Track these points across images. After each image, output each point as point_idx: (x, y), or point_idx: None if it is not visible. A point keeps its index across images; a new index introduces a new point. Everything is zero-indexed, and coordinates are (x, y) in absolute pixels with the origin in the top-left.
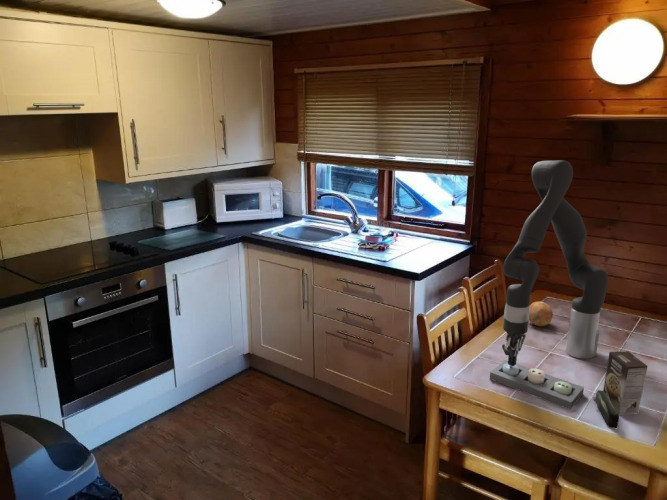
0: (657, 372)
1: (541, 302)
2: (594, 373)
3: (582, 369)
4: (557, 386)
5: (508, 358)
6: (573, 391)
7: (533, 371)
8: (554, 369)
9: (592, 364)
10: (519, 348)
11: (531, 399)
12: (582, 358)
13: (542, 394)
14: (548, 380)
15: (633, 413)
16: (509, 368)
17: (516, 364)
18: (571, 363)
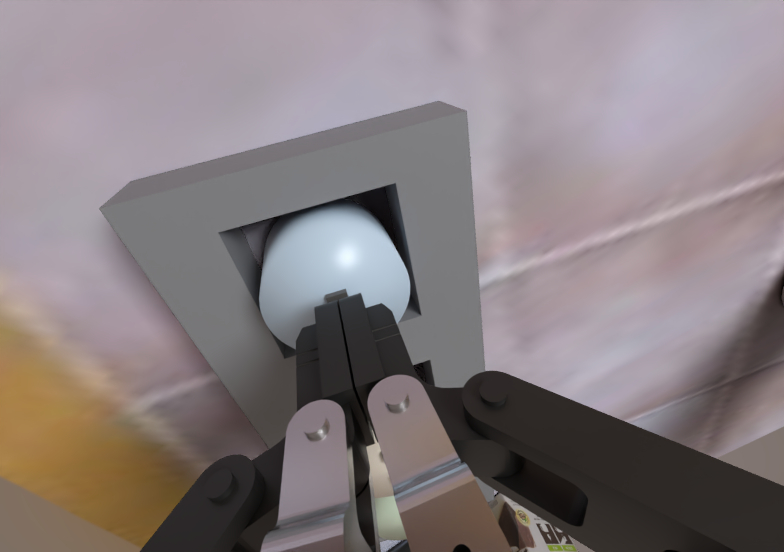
0: (753, 436)
1: None
2: (663, 388)
3: (676, 354)
4: (386, 520)
5: (319, 354)
6: None
7: (384, 461)
8: (612, 306)
9: (739, 343)
10: (492, 485)
11: (246, 448)
12: (782, 300)
13: None
14: None
15: None
16: (305, 311)
17: (464, 235)
18: (715, 303)
